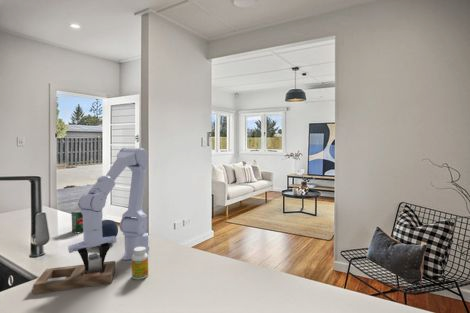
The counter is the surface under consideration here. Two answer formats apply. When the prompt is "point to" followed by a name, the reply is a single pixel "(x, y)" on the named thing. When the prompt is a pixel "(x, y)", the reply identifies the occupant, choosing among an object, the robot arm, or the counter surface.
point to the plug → (94, 264)
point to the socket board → (72, 278)
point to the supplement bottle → (139, 263)
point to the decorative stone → (109, 228)
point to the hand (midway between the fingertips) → (94, 267)
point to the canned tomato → (77, 220)
